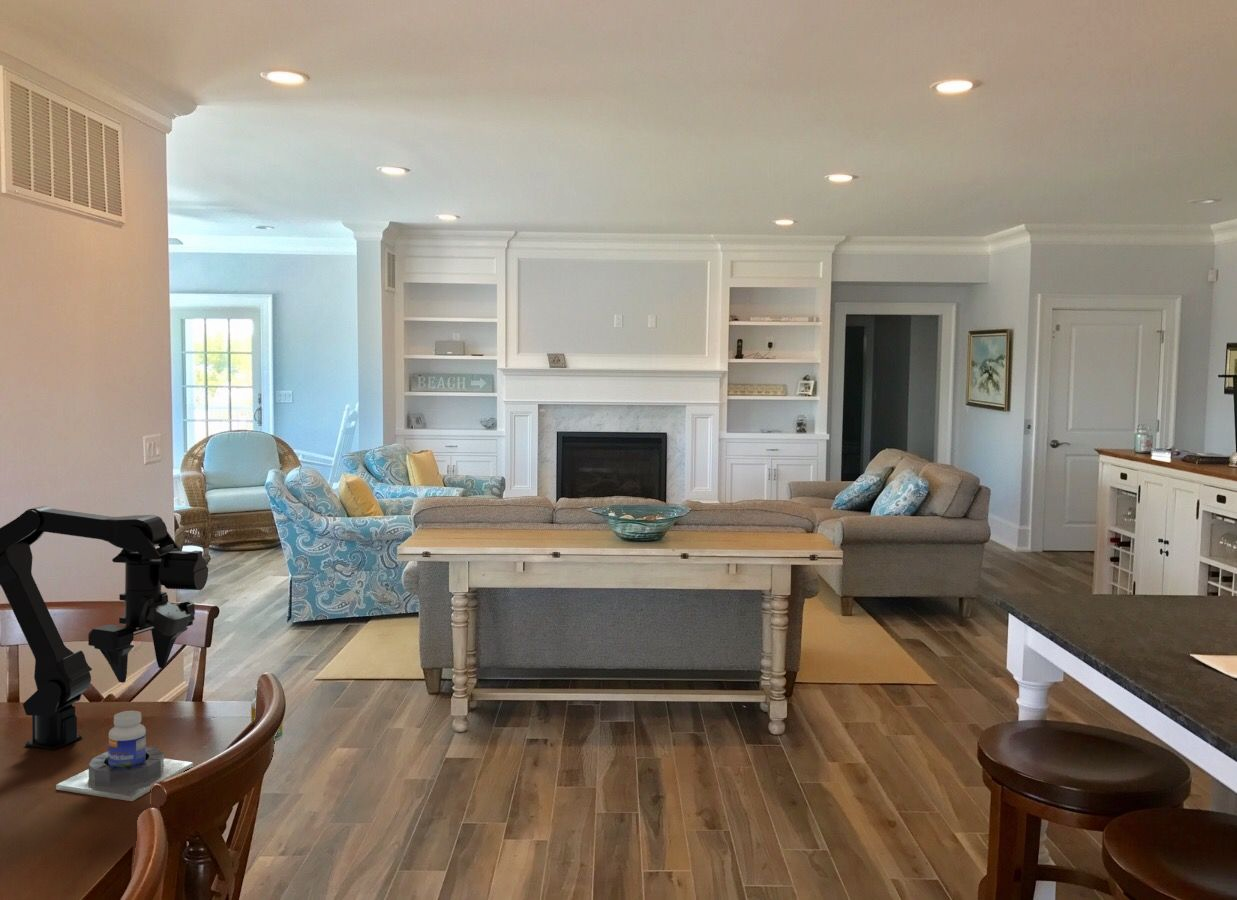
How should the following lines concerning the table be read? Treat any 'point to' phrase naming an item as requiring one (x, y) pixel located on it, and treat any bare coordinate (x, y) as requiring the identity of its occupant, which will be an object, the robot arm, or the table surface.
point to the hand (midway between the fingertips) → (142, 674)
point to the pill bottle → (127, 740)
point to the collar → (123, 776)
